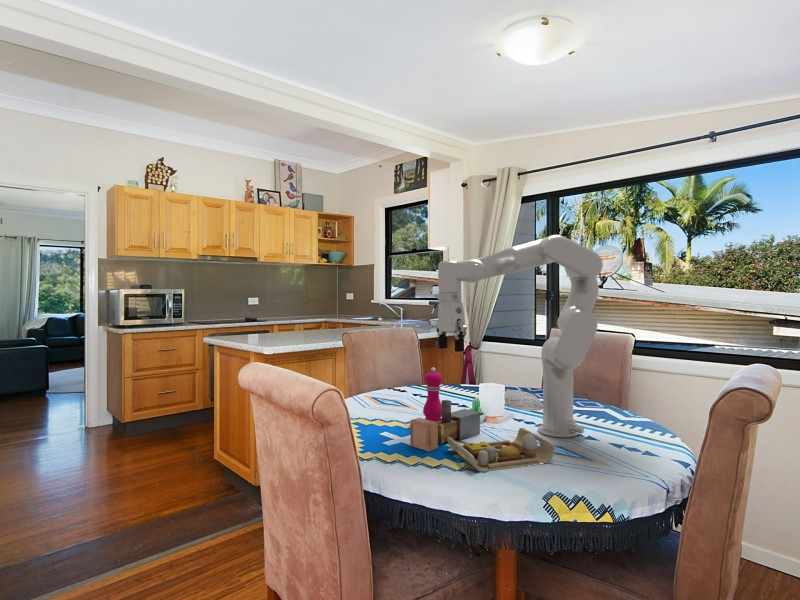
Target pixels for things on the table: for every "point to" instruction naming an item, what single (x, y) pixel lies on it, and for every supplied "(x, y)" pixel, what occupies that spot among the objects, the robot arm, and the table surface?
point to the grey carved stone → (522, 401)
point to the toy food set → (506, 452)
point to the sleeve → (467, 423)
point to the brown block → (424, 434)
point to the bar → (447, 423)
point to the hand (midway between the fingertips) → (450, 349)
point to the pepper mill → (433, 396)
